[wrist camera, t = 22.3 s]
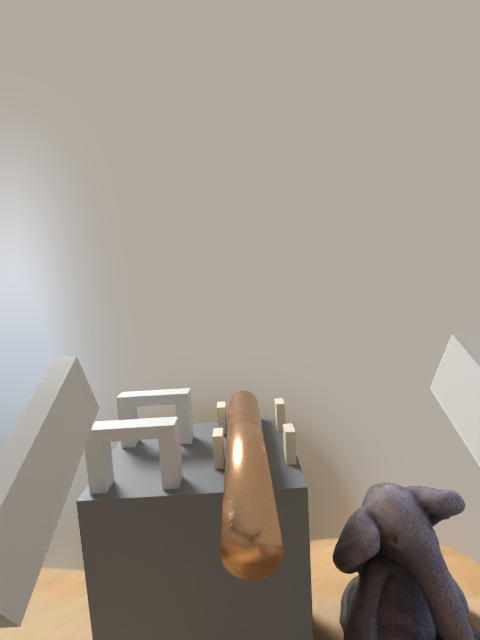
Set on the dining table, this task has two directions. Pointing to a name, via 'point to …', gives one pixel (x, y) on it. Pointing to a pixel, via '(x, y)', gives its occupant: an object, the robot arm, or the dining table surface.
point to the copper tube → (248, 496)
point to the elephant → (400, 568)
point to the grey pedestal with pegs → (185, 530)
